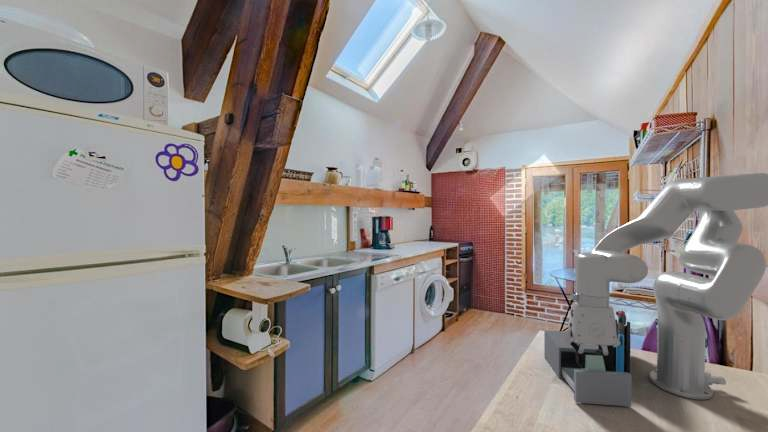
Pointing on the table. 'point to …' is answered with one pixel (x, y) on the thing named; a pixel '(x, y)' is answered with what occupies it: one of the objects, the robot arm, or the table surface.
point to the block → (594, 363)
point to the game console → (620, 347)
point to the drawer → (599, 386)
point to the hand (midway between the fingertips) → (590, 366)
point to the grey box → (562, 351)
